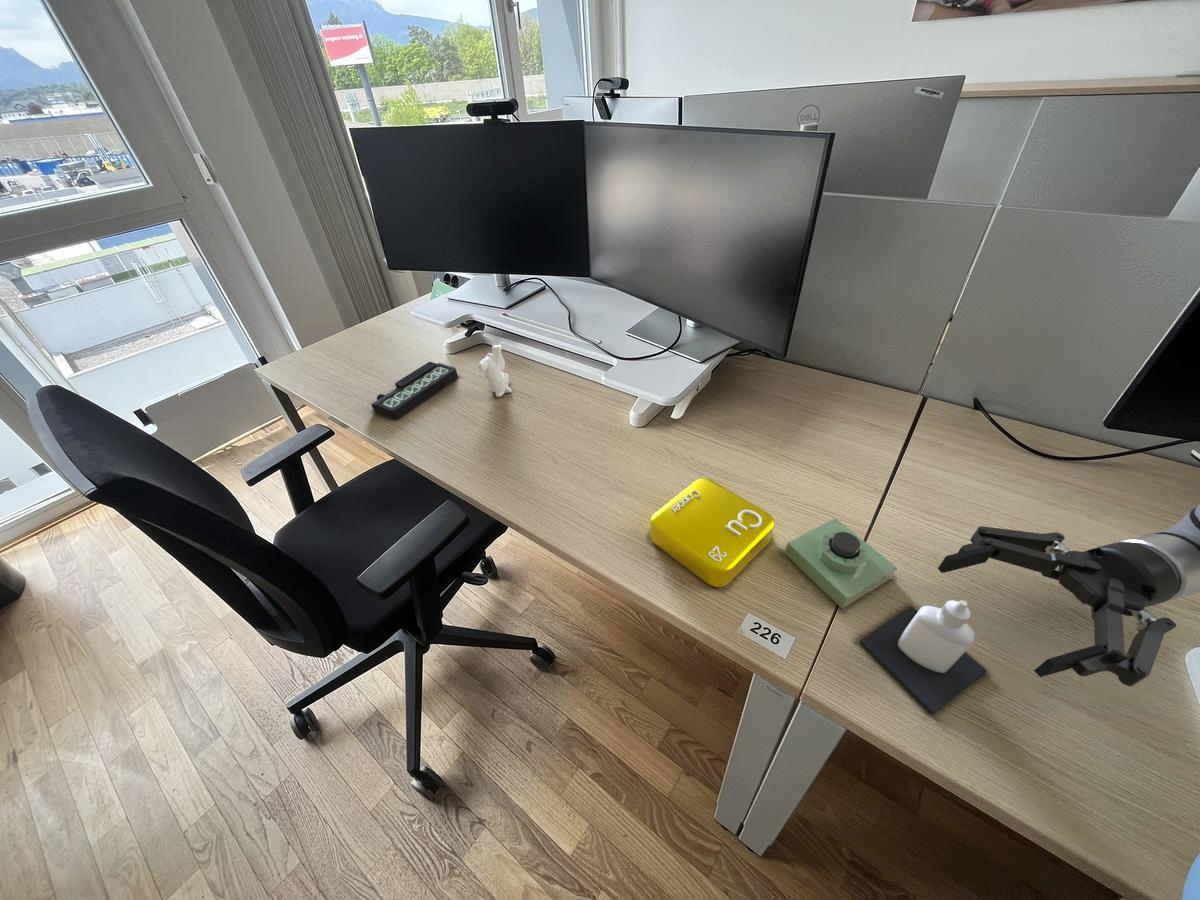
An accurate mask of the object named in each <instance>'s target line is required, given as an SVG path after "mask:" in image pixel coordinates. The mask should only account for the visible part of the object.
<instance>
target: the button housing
mask: <svg viewBox="0 0 1200 900" xmlns="http://www.w3.org/2000/svg"><path fill="white" fill-rule="evenodd" d="M838 532H847V533H850V534H852V535H854V536H855V537H856V538H857V539H858V540H859V542H860V548H859V550H858V552H857V554H856V556H855V557H854V558H851V559H844V558H841V557H839V556H837V555H835V554H834V553H833V552H832V550H831V548H830V543H831V541H832V538H833V536H834V535H835V534H836V533H838ZM784 555H785V556H786V557H787V558H788V559H790V560H791V561H792V563H794V564H795V565H796V566H797V567H798V568H799V569H800V570H801V571H802V572H803V573H804V574H805V575H806V576H807V577H809V579H810V580H812V582H813V583H815V585H816V586H818V588H820V589H821V591H823V593H825V594H826V595H827V596H828V597H829V598H830V599H831V600H832V601H834V603H835V604H837V606H839V608H841V609H844V608H845V607H847V606H849V605H851V604H852V603H854V602H856V601H857V600H858V599H860V598H861V597H863V596H866V595H867V594H868V593H870V592H871V591H873V590H875V589H876V588H878V587H879V586H881V585H883V584H885V583H886V582H888V581H889V580H891V579H892V578H893V576H894V574H895V572H896V570H897V569H898V567H897V566H896V565H895V564H894V563H892V562H891V561H890V560H889V559H888V558H886V557H884V555H882V554H881V553H880V552H879V551H877V550H876V549H875V548H873V547H872V546H871V545H870V544H869V543H867V542H866V541H865V540H863V539H862V538H861V537H860V536H858V535H857V534H856V533H855V532H854V531H853V530H851V529H850V528H848V527H847V526H846V525H845V524H843V523H842V522H841V521H840V520H838V518H836V517H834V518H832V519H830V520H828V521H825V523H822V524H820V525H819V526H817V527H815V528H813V529H811V530H809V531H808V532H805V533H804V534H801V535H800V536H798V537H796V538H795V539H792V540H790V541H788V542H787V544H786V547H785V550H784Z"/></svg>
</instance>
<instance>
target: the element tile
mask: <svg viewBox="0 0 1200 900" xmlns="http://www.w3.org/2000/svg"><path fill="white" fill-rule="evenodd" d="M775 523H776V521H775V517H773V516H772V514H770V512H767V510H764V509H763V508H761V507H759V506H758V505H756V504H754V503H752V502H751V501H749V500H747V499H745V498H744V497H742V496H740V495H739V494H737V493H735V491H734V492H733V491H732V490H730V489H729V488H727V487H725V486H723V485H721V484H720V483H718V482H717V481H715V480H713V479H711V478H707V477H702V478H699V479H696V480H695V481H694V482H692V483H691V484H690V485H689V486H687V487H686V488H685V489H684V490H682V491H681V492H680V493H678V494H677V495H676V496H675V497H674V498H672V499H671V500H670V501H669V502H667V503H665V504H664V505H663V506H662V507H661V508H660V509H659V510H657V511H656V512H654V514H653V515H652V516H651V518H650V528H649V529H650V531H649V532H650V534H649V535H650V539H651V541H652V542H653V543H654V545H656V546H657V547H658V548H660V549H661V550H663V551H664V552H665V553H666V554H668V555H669V556H671V557H672V558H673V559H675V560H676V561H677V562H679V563H680V564H681V565H682V566H684V567H685V568H686V569H688V570H689V571H690V572H692V573H693V574H694V575H696V576H697V577H699V579H701V580H702V581H704V582H705V583H706V584H708V585H709V586H711V587H714V588H723V587H725V586H727V585H729V584H730V583H731V582H732V581H733V580H734V579H735V577H736V576H738V575H739V574H740V572H742V571H743V569H744V568H746V566H747V565H748V564H749V563H750V562H751V561H752V560H753V559H754V558H755V557H756V556H757V555H758V554H759V553H760V552H762V550H763V549H764V548H765V547H766V546H767V545H768V544H769V542H770V541H771V538H772V535H773V532H774V528H775V525H776V524H775Z"/></svg>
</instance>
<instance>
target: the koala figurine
mask: <svg viewBox="0 0 1200 900" xmlns="http://www.w3.org/2000/svg"><path fill="white" fill-rule="evenodd" d="M504 344H505V343H504V342H500V343H499V344H497V345H496V344H494V345H492V346H491V352H488V353H487V354H486V355H485V357H484V358H482V359H481V360H480V361H479V362H478V367H477V368H478V370H479V371H481V373H484V377H485V378H486V380H487V381H486V386H487V387H488V389H489V390H490V391H492V392H494V393H495V396H496V397H497V398H500V397H502V396H504V394H507V393H512V388H510V387H509V380H510V378H509V377H510V376H509V374H508V373H507V372H504V370H505V368H506V361H505V359H504V356H503V354H502V349H503V348H504Z"/></svg>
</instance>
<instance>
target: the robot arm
mask: <svg viewBox="0 0 1200 900" xmlns="http://www.w3.org/2000/svg"><path fill="white" fill-rule="evenodd" d="M1065 538H1066V537H1065V535H1064V534H1062V533H1060V532H1056V531H1055V532H1054V531H1053V532H1046V533H1039V532H1031V531H1022V530H1015V529H1007V528H998V527H990V526H984V525H980V526H978V527H977V528H976V531H974V533H973V534H972V535H971V537H970V539H969V541H970V542H971V543H967V544H963V545H962V546H961V547H960V549H959V550H958V551H957V552H956V553H952V554H948V555H946V556H945V557H944V558H943V559H942V561H941V563H940V564H939V565H938V567H937V570H938V571H939V572H940V573H941V574H943V573H949V572H953V571H956V570H960V569H965V568H968V567H972V566H976V565H980V564H984V563H987V562H988V561H989V559H991V560H996V561H999V562H1003V563H1006V564H1010V565H1013V566H1017V567H1020V568H1023V569H1026V570H1031V571H1034V572H1037V573H1040V574H1041V576H1042V577H1045V578H1048V579H1052V580H1054V581H1055V580H1056V581H1058V584H1059V585H1061V586H1062V587H1063V588H1064V589H1066V590H1067V591H1069V592H1070V593H1072V594H1073V596H1074V597H1075V598H1076V599H1077V600H1078V601H1079V602H1080V603H1082V604H1083V605H1085V604H1086V605H1087V606H1089V607H1090V609H1091V610H1090V611H1091V620H1092V621H1093V623H1094V624H1093V625H1094V626H1093V627H1094V645H1091V646H1087V647H1083V648H1081V649H1077V650H1074V651H1071V652H1067V653H1063V654H1060V655H1056V656H1053V657H1049V658H1047V659H1046V660H1044V661H1043V662H1042V663H1041V664H1040V665H1038V666H1037V667H1036V668H1035V669H1034V670H1033V672H1034V673H1035V674H1037V676H1038V677H1039V678H1043V677H1048V676H1050V675H1053V674H1057V673H1061V672H1064V671H1067V670H1071V669H1072V670H1073V671H1074V673H1076V674H1077V675H1078V676H1079V677H1089V676H1092V675H1095V674H1098V673H1101V672H1109V673H1112V674H1114V675H1116V676H1117V678H1118V681H1120V683H1122V684H1123V685H1124V686H1126V687H1133V686H1135V685H1136V684H1138V683H1139V682H1141V681H1142V680H1144V679H1146V678H1147V677H1149V676H1150V674H1151V672H1152V669H1153V666H1154V663H1155V661H1156V658H1157V655H1158V652H1159V649H1160V647H1161V645H1162V642H1163V638H1164V636H1165V635H1166V634H1168V633H1169V632H1171V631H1172V630H1174V629H1175V628H1176V627H1177V623H1176V622H1175V621H1174V620H1172V619H1171V618H1168V617H1163V616H1162V617H1160V618H1158V617H1157V616H1155V615H1154V614H1152V613H1151V612H1149V611H1148V610H1146V609H1145V608H1148V607H1152V606H1156V605H1160V604H1163V603H1166V602H1168V601H1172V600H1176V599H1180V598H1183V597H1187V596H1188V597H1189V596H1192V595H1195V594H1198V593H1200V503H1199V504H1198V505H1196V506H1195V508H1193V509H1191V510H1190V511H1189V512H1188V513H1187V514H1185V515H1184V516H1183V517H1182V518H1181V519H1180V520H1179V521H1177V522H1176V523H1175V524H1174V525H1172V526H1171V527H1169V528H1167V529H1164V530H1163V529H1162V530H1159V531H1156V532H1152V533H1149V534H1145V535H1141V536H1137V537H1133V538H1128V539H1124V540H1121V541H1118V542H1113V543H1109V544H1104V545H1100V546H1097V547H1094V548H1089V549H1087V550H1084V551H1080V550H1079V551H1078V550H1072V549H1071V548H1070V547H1068V546H1067V545H1066V544H1065V543H1064V542H1063V541H1064V540H1065ZM1057 568H1058V570H1057ZM1123 616H1125V617H1134V618H1135V620H1136V622H1135V626H1136V627H1134V628H1135V629H1134V630H1135V631H1136V632H1138V633H1136V634H1135V635H1134V637H1133V638H1132V641H1131V643H1130V646H1129V648H1128V651H1127V652H1126V648H1125V638H1124V623H1123V621H1124V620H1123ZM1185 879H1186V880H1185V882H1184V887H1183V892H1182V897H1181V900H1200V853H1199V854H1198V855H1197V857H1196V858H1195V860H1194V861H1193V862H1192V864H1191V866H1190V869H1189V871H1188V874H1187V876H1186V878H1185Z"/></svg>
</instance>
